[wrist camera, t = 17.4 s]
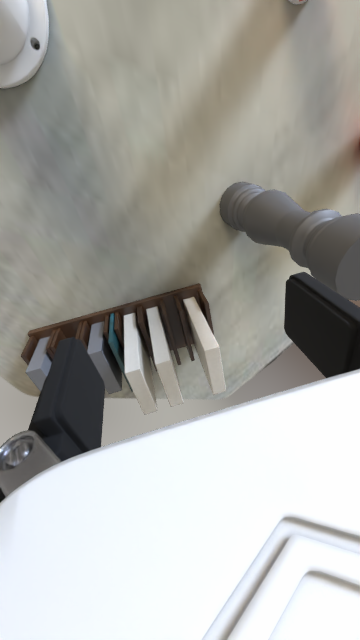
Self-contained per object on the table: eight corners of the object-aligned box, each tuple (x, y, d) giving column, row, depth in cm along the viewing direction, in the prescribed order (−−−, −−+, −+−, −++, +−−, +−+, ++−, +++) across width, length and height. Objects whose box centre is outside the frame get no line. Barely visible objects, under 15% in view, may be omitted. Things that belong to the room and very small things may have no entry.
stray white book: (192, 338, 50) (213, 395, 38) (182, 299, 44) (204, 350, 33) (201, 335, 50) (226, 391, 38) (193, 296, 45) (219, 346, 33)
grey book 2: (110, 361, 49) (108, 394, 42) (91, 324, 44) (86, 354, 37) (121, 358, 49) (121, 390, 42) (104, 320, 44) (101, 350, 37)
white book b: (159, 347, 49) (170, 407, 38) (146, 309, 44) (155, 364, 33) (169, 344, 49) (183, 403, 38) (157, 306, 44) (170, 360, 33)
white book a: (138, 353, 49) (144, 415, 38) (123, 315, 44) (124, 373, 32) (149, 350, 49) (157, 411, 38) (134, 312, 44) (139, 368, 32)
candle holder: (244, 232, 41) (367, 313, 21) (211, 216, 39) (314, 288, 18) (266, 193, 38) (432, 241, 18) (233, 173, 36) (380, 201, 16)
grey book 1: (64, 375, 48) (55, 410, 42) (39, 339, 43) (25, 372, 37) (75, 371, 48) (68, 406, 42) (52, 335, 43) (40, 368, 37)
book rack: (62, 378, 50) (51, 417, 43) (29, 330, 43) (10, 367, 36) (209, 336, 51) (223, 367, 44) (199, 283, 44) (215, 309, 37)
